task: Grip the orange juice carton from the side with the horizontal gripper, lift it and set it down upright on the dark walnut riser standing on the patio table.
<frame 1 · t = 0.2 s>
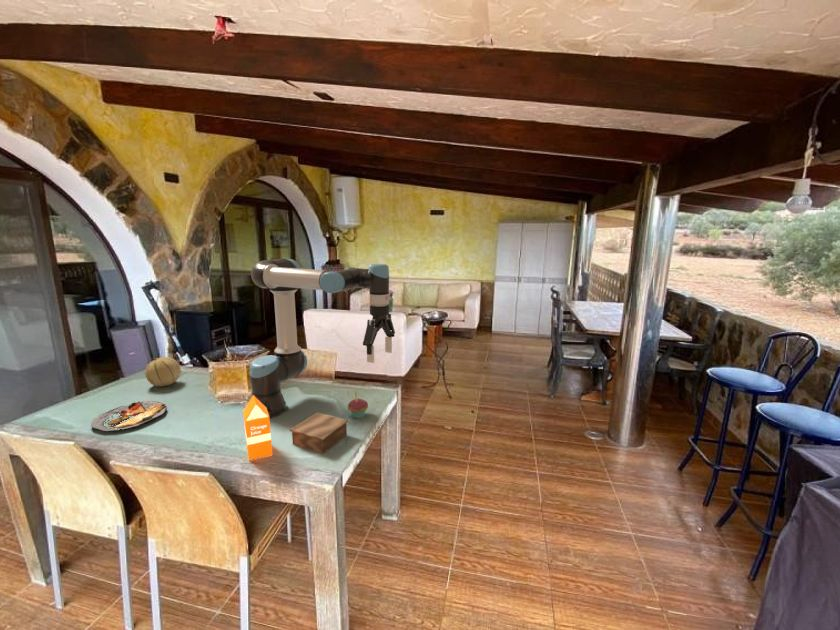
hand: (379, 357, 153), 28 cm above the table, tool pointing down, fingers open, 13 cm apart
cantaloupe: (165, 385, 194), on the table
orange juice: (259, 452, 136), on the table
food plate: (131, 419, 159), on the table
cupcake: (358, 416, 163), on the table
walnut riser: (320, 439, 144), on the table
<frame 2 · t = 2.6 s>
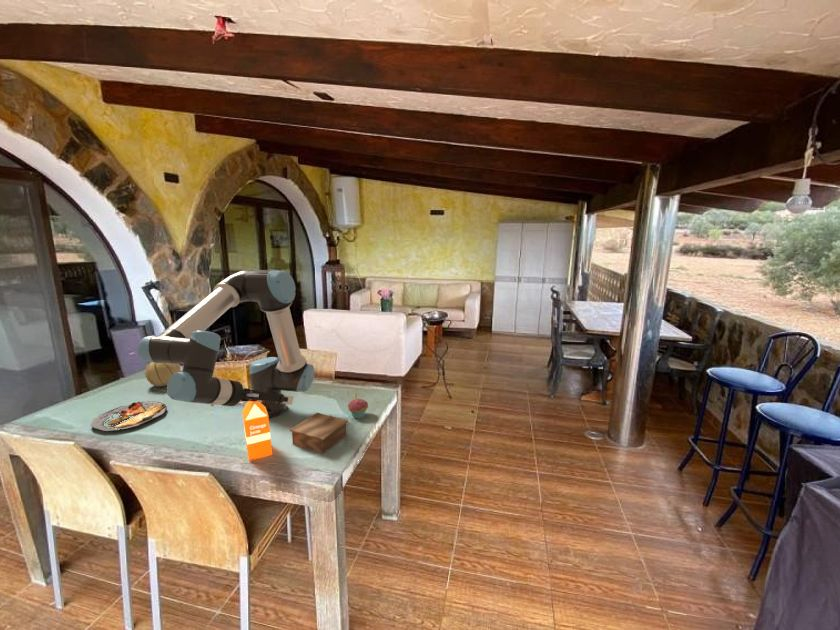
hand: (276, 399, 132), 20 cm above the table, tool tilted 60°, fingers open, 13 cm apart
orange juice: (259, 452, 136), on the table, touching gripper
everything else where it was.
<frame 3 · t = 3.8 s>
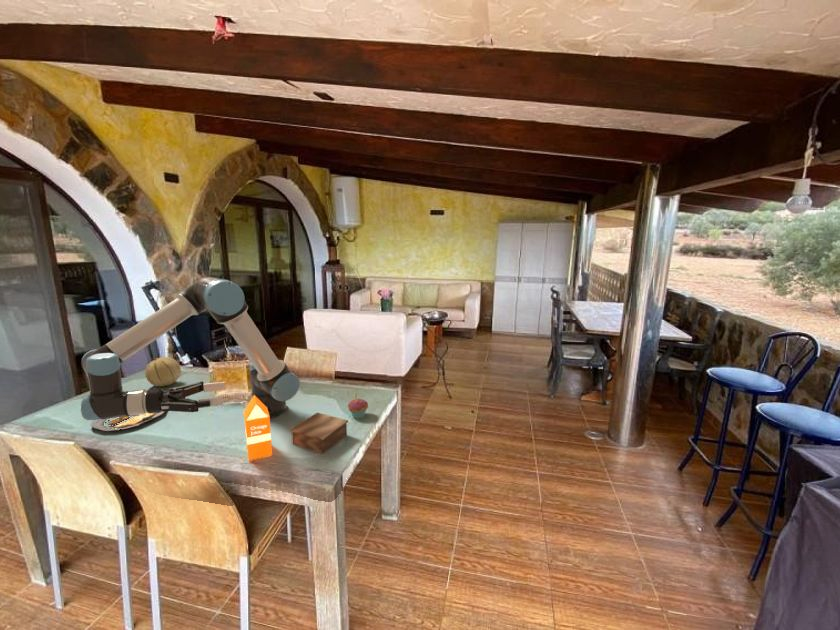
hand: (223, 392, 127), 24 cm above the table, tool horizontal, fingers open, 13 cm apart
orange juice: (259, 452, 136), on the table
everything else where it was.
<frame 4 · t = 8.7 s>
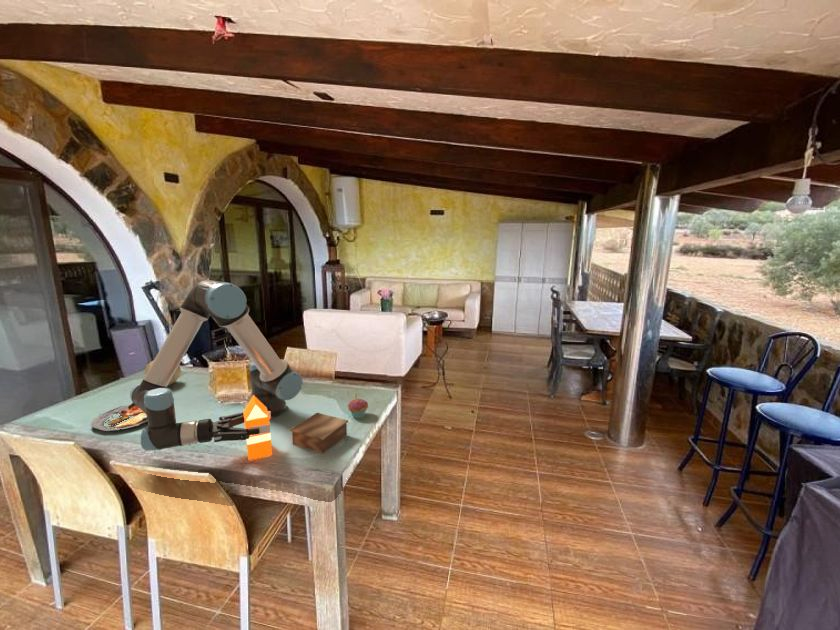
hand: (270, 421, 135), 11 cm above the table, tool horizontal, fingers closed on orange juice, 9 cm apart
orange juice: (259, 452, 136), on the table, touching gripper
everything else where it was.
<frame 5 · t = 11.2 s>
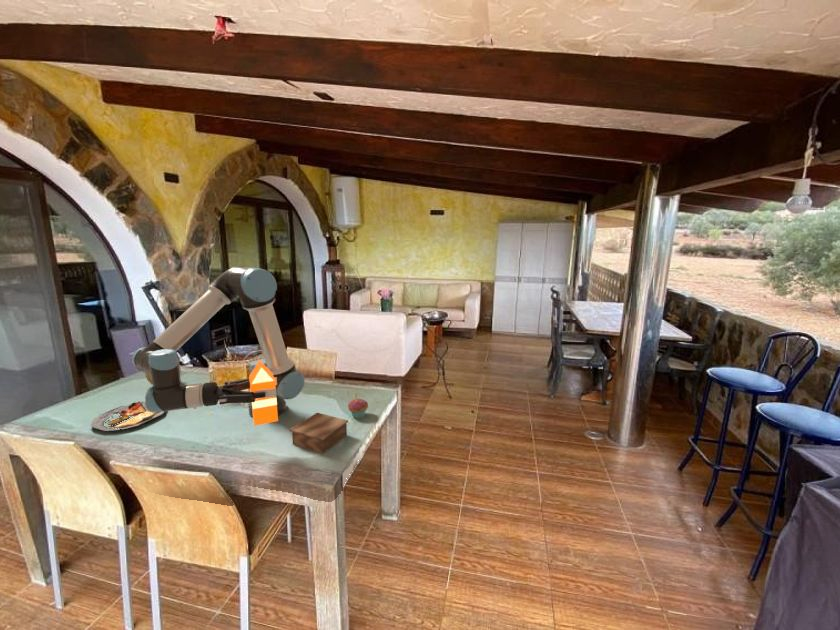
hand: (276, 386, 132), 24 cm above the table, tool horizontal, fingers closed on orange juice, 9 cm apart
orange juice: (265, 418, 133), point 13 cm above the table, touching gripper
everything else where it was.
when the fingers open (18 cm above the table, at t = 14.0 s): orange juice drops 1 cm, resting on walnut riser.
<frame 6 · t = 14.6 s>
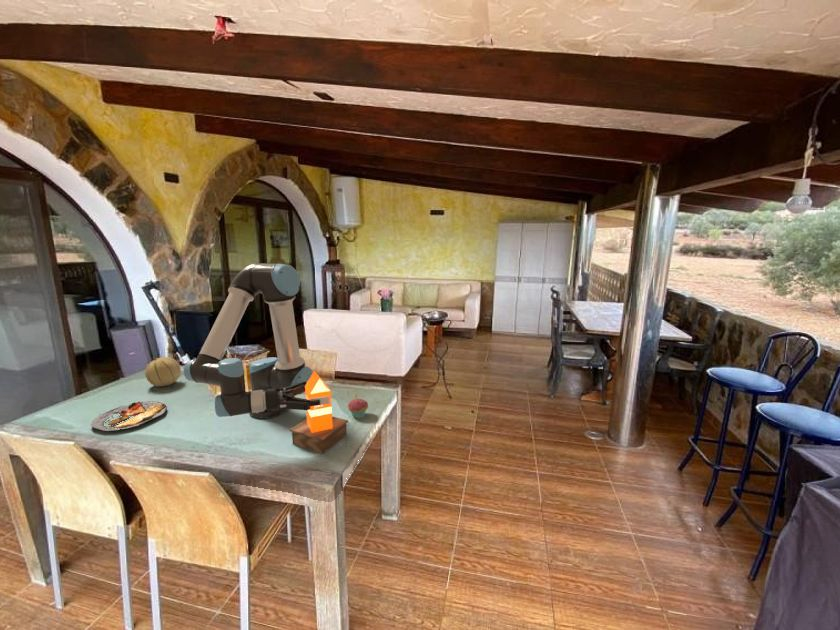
hand: (327, 392, 141), 18 cm above the table, tool horizontal, fingers open, 13 cm apart
orange juice: (319, 425, 143), point 6 cm above the table, touching walnut riser
everything else where it was.
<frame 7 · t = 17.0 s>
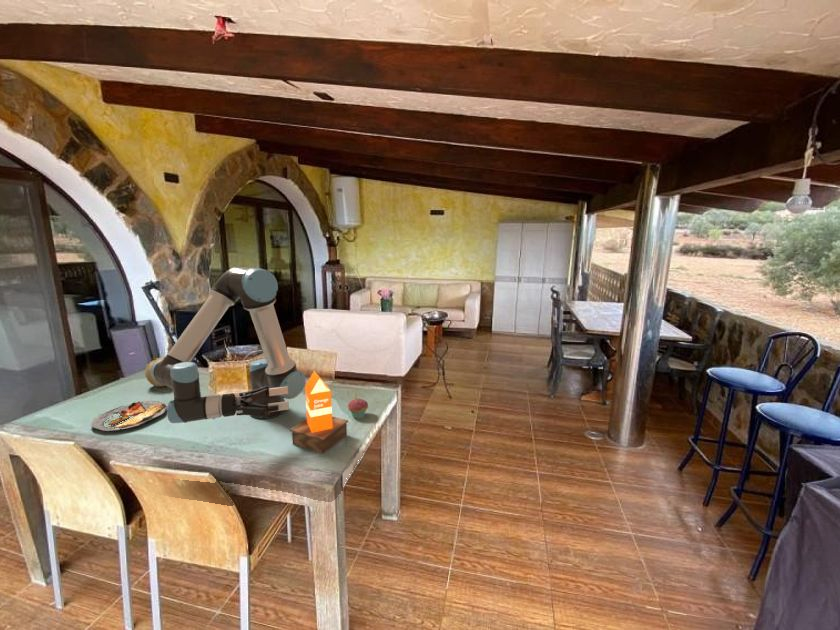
hand: (288, 397, 137), 19 cm above the table, tool horizontal, fingers open, 13 cm apart
nothing on the table moved.
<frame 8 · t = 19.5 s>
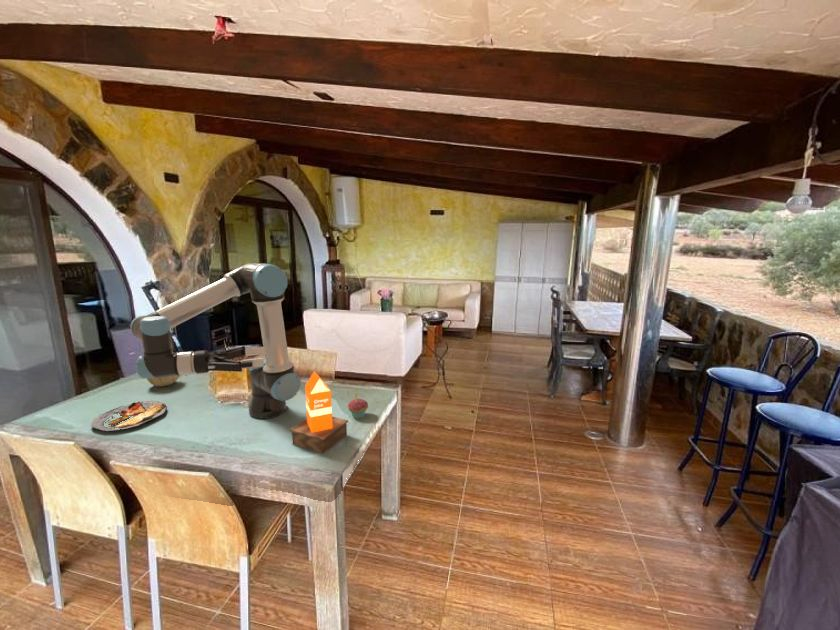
hand: (264, 356, 133), 34 cm above the table, tool horizontal, fingers open, 13 cm apart
nothing on the table moved.
at the end: orange juice 0.2 cm from the walnut riser (horizontally); orange juice touching walnut riser; orange juice tilted 0° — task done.
